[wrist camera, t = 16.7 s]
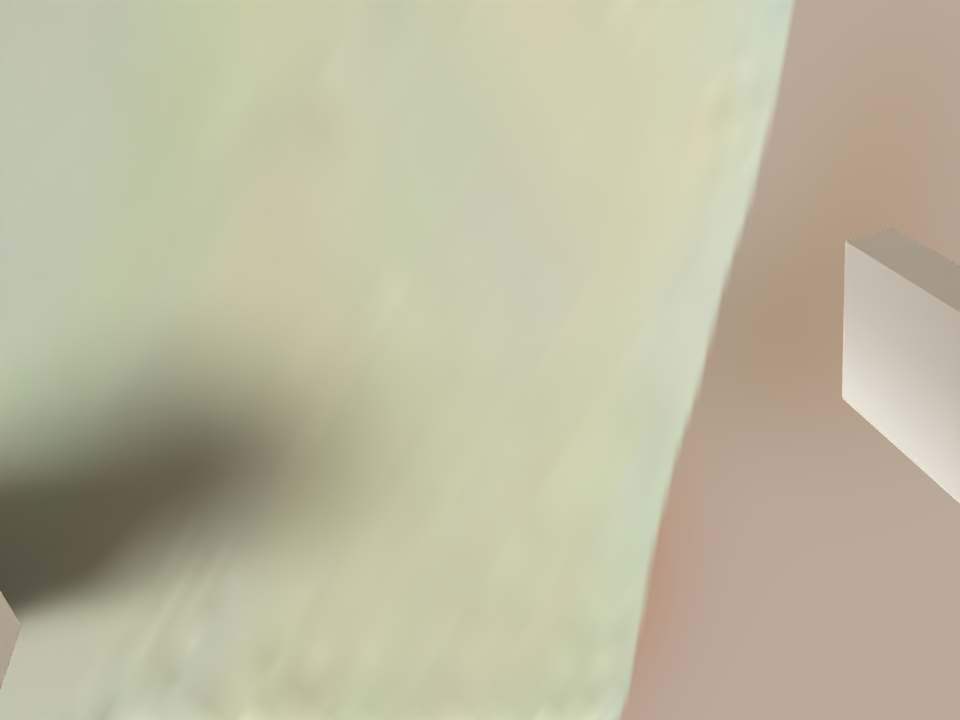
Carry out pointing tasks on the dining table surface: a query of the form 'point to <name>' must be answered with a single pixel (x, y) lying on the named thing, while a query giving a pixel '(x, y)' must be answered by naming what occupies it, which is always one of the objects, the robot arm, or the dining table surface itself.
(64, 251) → the dining table surface
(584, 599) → the dining table surface
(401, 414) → the dining table surface
